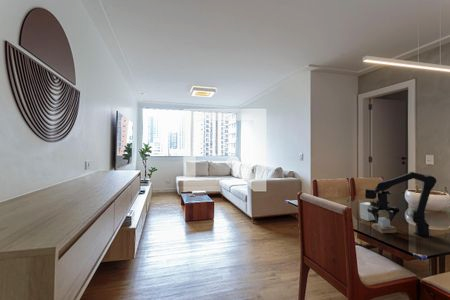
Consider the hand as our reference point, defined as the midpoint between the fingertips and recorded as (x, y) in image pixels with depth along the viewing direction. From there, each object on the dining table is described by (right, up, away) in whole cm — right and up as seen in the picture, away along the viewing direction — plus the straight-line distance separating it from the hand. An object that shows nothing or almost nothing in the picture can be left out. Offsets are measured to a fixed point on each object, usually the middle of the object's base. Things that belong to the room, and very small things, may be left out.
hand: (383, 222), depth 156 cm
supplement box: (+4, -5, +23) cm, 24 cm away
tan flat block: (0, -6, 0) cm, 6 cm away
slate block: (0, -3, 0) cm, 3 cm away
